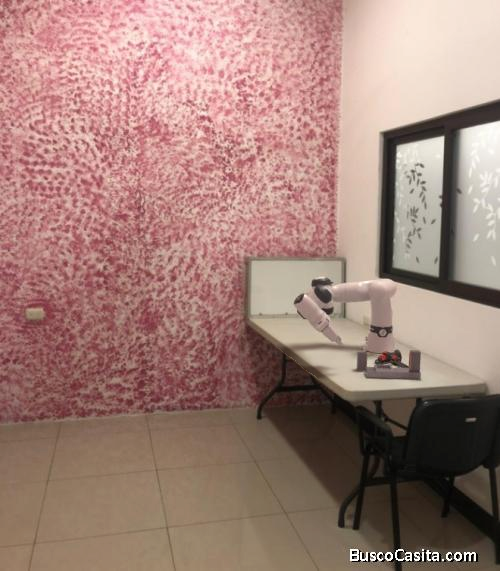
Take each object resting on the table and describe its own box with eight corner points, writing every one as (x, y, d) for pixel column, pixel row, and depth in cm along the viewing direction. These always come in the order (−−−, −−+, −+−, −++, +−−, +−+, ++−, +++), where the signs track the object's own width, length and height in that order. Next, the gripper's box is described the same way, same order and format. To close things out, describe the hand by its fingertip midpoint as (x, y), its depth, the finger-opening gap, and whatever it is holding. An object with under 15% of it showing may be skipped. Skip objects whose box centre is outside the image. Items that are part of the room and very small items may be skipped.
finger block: (356, 368, 290) (357, 350, 289) (365, 368, 290) (366, 350, 289) (357, 370, 286) (358, 352, 285) (366, 370, 286) (367, 352, 285)
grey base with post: (364, 373, 282) (365, 347, 280) (416, 374, 280) (418, 349, 279) (366, 377, 274) (367, 351, 273) (420, 379, 272) (421, 353, 271)
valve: (367, 363, 309) (393, 357, 313) (391, 379, 284) (419, 372, 288) (366, 351, 308) (392, 345, 311) (390, 366, 283) (418, 360, 286)
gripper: (315, 322, 297) (334, 342, 297) (317, 330, 277) (337, 352, 277) (325, 313, 296) (344, 333, 297) (327, 321, 276) (348, 343, 276)
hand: (341, 342), depth 287 cm, fingers open, 8 cm apart
